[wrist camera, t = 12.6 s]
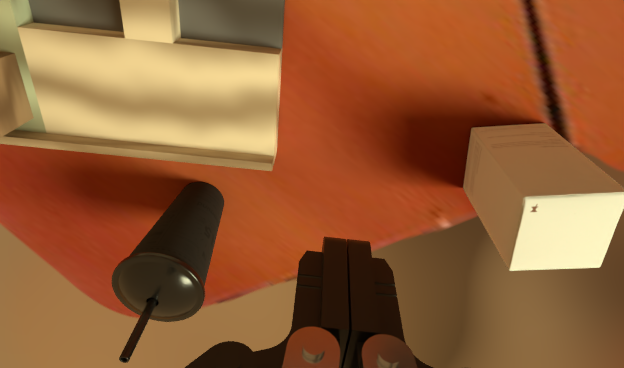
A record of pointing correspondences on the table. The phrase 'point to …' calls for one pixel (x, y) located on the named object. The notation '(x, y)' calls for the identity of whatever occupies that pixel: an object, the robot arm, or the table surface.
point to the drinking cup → (171, 262)
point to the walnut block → (12, 95)
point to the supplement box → (540, 197)
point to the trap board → (150, 77)
